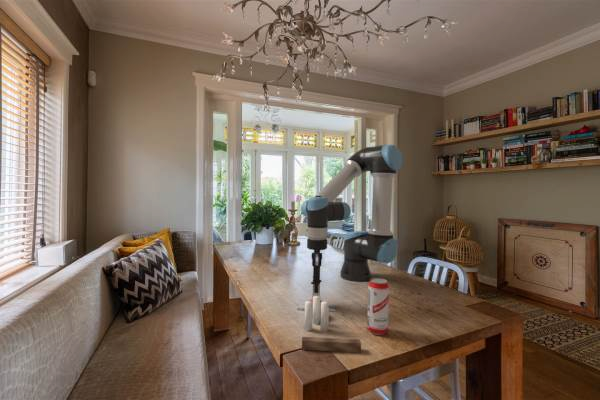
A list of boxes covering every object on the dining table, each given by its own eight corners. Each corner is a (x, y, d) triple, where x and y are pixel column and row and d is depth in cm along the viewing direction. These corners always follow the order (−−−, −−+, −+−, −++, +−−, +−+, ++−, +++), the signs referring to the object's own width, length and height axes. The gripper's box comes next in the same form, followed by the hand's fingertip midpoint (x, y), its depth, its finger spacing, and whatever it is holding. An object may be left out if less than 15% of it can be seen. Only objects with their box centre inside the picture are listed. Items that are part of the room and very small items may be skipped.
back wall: (359, 348, 78) (359, 339, 78) (360, 352, 76) (361, 343, 76) (302, 345, 79) (302, 336, 79) (301, 349, 77) (302, 340, 77)
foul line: (335, 309, 103) (335, 309, 103) (335, 311, 102) (335, 310, 102) (297, 308, 104) (297, 307, 104) (296, 309, 102) (296, 309, 102)
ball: (324, 312, 93) (323, 320, 97) (325, 296, 97) (324, 304, 102) (306, 311, 94) (306, 319, 98) (307, 294, 98) (307, 302, 102)
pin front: (319, 321, 94) (320, 295, 94) (320, 324, 92) (320, 298, 91) (312, 320, 94) (313, 295, 94) (312, 324, 92) (313, 298, 91)
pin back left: (312, 327, 90) (312, 301, 89) (312, 331, 87) (312, 304, 87) (304, 327, 90) (305, 300, 89) (304, 330, 87) (304, 303, 87)
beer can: (364, 326, 91) (365, 277, 90) (383, 326, 91) (384, 277, 91) (370, 336, 84) (372, 284, 84) (391, 336, 85) (392, 283, 84)
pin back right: (328, 328, 89) (328, 301, 89) (328, 331, 87) (328, 304, 87) (320, 327, 90) (320, 301, 89) (320, 331, 87) (321, 304, 87)
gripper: (307, 235, 113) (306, 293, 114) (306, 241, 100) (305, 306, 101) (326, 235, 112) (325, 294, 113) (327, 241, 99) (326, 307, 100)
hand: (316, 300), depth 107 cm, fingers closed
